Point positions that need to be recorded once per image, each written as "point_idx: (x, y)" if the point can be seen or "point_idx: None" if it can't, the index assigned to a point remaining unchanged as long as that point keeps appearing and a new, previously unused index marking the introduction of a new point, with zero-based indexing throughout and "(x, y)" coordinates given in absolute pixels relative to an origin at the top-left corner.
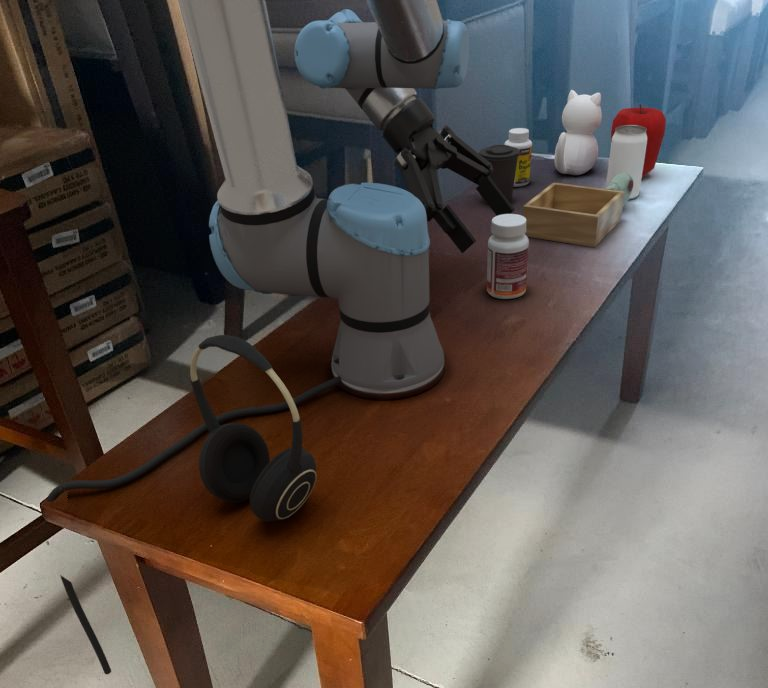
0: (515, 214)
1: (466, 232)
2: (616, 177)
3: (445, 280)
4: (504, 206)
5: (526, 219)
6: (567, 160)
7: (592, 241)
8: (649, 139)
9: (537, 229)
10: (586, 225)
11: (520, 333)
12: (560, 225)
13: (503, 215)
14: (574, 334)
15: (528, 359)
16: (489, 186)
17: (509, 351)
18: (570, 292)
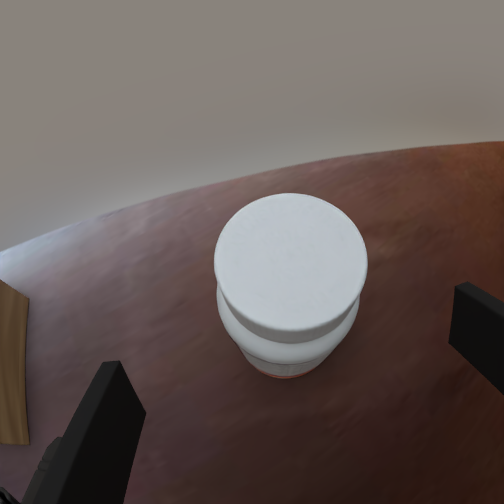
0: (220, 267)
1: (494, 299)
2: None
3: (317, 486)
4: (116, 398)
5: (4, 434)
6: None
7: (22, 299)
8: None
9: (14, 410)
10: (2, 303)
11: (397, 212)
12: (3, 358)
13: (261, 304)
14: (339, 158)
15: (432, 170)
16: (81, 486)
17: (441, 197)
18: (210, 232)
